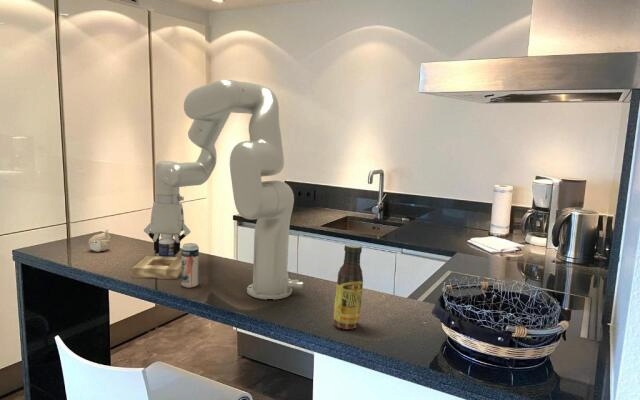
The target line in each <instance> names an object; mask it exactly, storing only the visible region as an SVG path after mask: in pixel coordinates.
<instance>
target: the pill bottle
mask: <svg viewBox="0 0 640 400" xmlns="http://www.w3.org/2000/svg"><path fill="white" fill-rule="evenodd" d="M160 237H161V238H159V253H158V256H161V257H177V254H174V243H175V241H176V240H175V237H174V234H160Z"/></svg>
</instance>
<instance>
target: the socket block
mask: <svg viewBox="0 0 640 400" xmlns="http://www.w3.org/2000/svg"><path fill="white" fill-rule="evenodd" d="M131 270H132V278H134V279H156V278H157V279H159V280H160V279H161V280H163V279H165V280H178V279H179V278H180V277H181V271H182V256H181V257H180V256H176V257H161V256H159V255H158V256H157V255H156V256H155V255H146V256H145V257H144V258H143V259H141V260H140V261H139V262H138V263H137V264H135V265H134V266H133V267H132V269H131ZM157 279H156V280H157Z"/></svg>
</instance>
